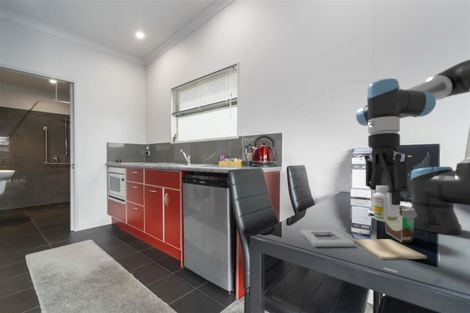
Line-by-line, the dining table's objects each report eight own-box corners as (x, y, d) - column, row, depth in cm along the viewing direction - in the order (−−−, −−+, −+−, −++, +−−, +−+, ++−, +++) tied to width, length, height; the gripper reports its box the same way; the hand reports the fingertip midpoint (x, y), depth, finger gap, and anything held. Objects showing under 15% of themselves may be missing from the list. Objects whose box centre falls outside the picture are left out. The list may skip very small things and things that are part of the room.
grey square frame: (333, 232, 72) (333, 229, 72) (354, 246, 60) (354, 242, 60) (300, 233, 72) (300, 229, 72) (314, 246, 60) (314, 242, 60)
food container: (428, 245, 61) (427, 212, 62) (404, 244, 62) (403, 211, 63) (403, 232, 73) (402, 204, 74) (383, 231, 74) (383, 203, 75)
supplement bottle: (396, 219, 60) (395, 186, 60) (397, 223, 55) (397, 187, 55) (373, 216, 63) (373, 184, 63) (373, 220, 58) (373, 186, 58)
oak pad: (390, 241, 65) (390, 239, 65) (426, 258, 53) (426, 256, 53) (353, 241, 64) (353, 239, 64) (381, 259, 52) (381, 256, 52)
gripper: (352, 137, 69) (353, 207, 68) (396, 128, 50) (398, 222, 50) (373, 138, 69) (375, 207, 68) (426, 128, 51) (428, 222, 50)
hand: (385, 213), depth 59 cm, fingers closed on supplement bottle, 5 cm apart
